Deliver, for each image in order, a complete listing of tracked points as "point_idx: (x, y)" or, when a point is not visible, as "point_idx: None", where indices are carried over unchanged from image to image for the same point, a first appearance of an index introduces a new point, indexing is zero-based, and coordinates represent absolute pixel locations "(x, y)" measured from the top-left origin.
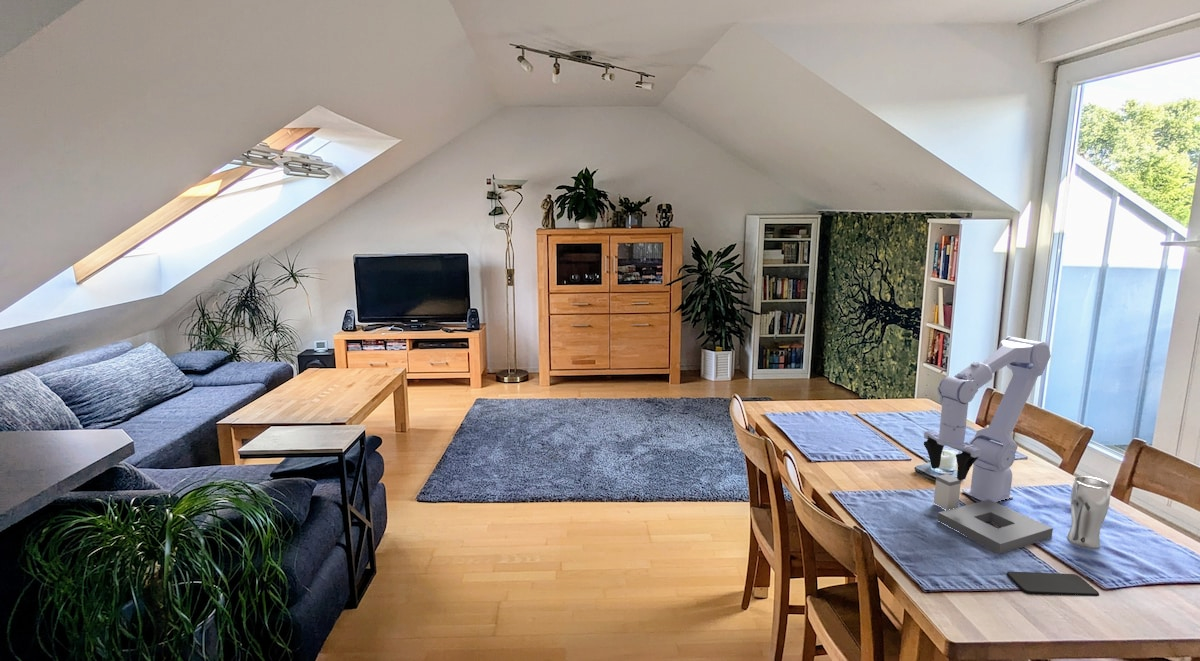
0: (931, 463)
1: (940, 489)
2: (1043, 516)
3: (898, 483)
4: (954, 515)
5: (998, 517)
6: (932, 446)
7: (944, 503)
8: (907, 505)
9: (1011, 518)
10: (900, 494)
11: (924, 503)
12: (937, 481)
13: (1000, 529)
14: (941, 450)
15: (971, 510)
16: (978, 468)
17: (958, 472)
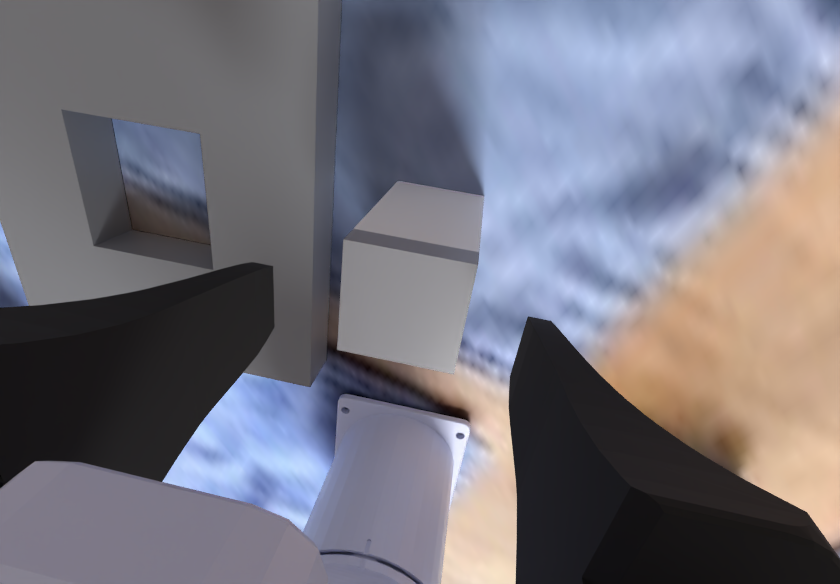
0: (556, 336)
1: (437, 224)
2: (205, 436)
3: (764, 289)
4: (249, 42)
5: (179, 258)
6: (599, 514)
7: (410, 193)
8: (582, 33)
9: (136, 281)
10: (691, 153)
11: (524, 164)
12: (464, 246)
13: (52, 114)
14: (521, 549)
15: (259, 205)
16: (375, 547)
17: (213, 281)
